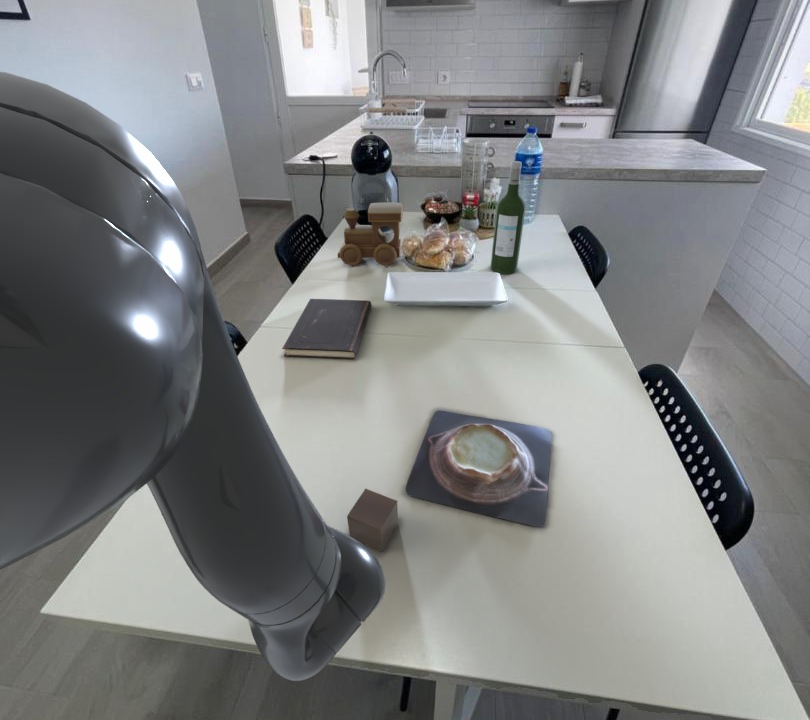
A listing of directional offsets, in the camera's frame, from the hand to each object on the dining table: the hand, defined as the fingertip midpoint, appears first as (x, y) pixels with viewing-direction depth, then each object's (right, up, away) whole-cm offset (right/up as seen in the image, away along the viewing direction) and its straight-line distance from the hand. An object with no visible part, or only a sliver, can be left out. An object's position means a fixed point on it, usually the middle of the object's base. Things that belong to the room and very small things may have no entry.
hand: (157, 403), depth 55 cm
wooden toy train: (+20, +37, +86) cm, 96 cm away
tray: (+41, +22, +65) cm, 80 cm away
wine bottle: (+60, +33, +80) cm, 105 cm away
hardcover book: (+13, +12, +52) cm, 55 cm away
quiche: (+43, -11, +18) cm, 48 cm away
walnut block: (+26, -19, +8) cm, 33 cm away
